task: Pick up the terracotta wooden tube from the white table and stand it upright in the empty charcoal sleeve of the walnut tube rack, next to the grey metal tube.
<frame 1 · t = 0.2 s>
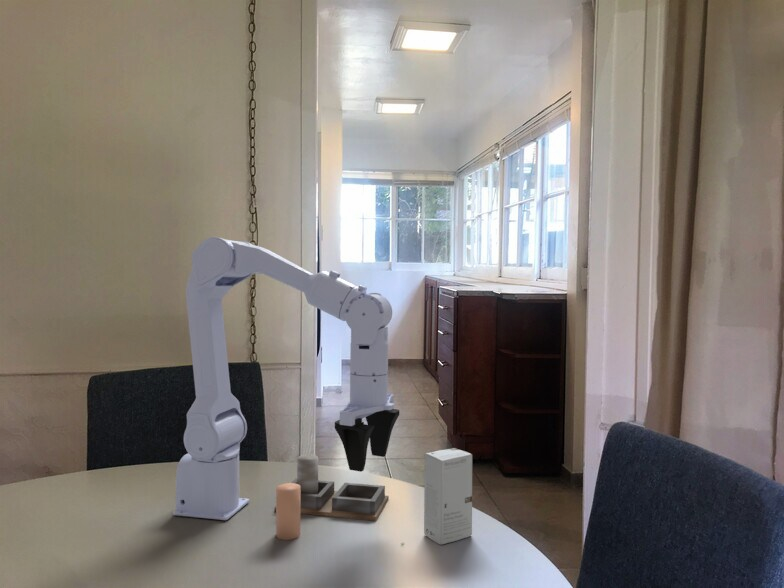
hand: (368, 462, 85), 10 cm above the table, fingers open, 7 cm apart
terracotta tube: (288, 534, 82), on the table
tube rack: (333, 504, 93), on the table
skincare box: (448, 536, 82), on the table
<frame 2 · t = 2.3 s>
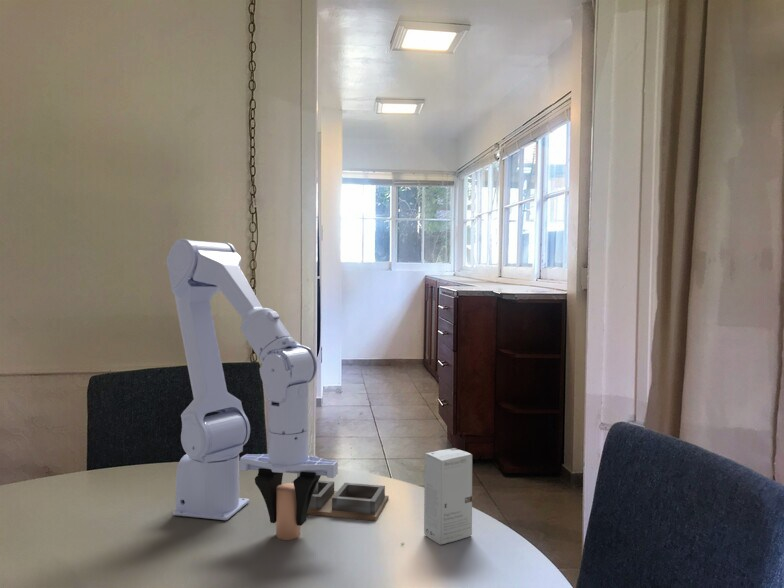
hand: (288, 521, 82), 2 cm above the table, fingers closed on terracotta tube, 3 cm apart
terracotta tube: (288, 534, 82), on the table, touching gripper
everything else where it was.
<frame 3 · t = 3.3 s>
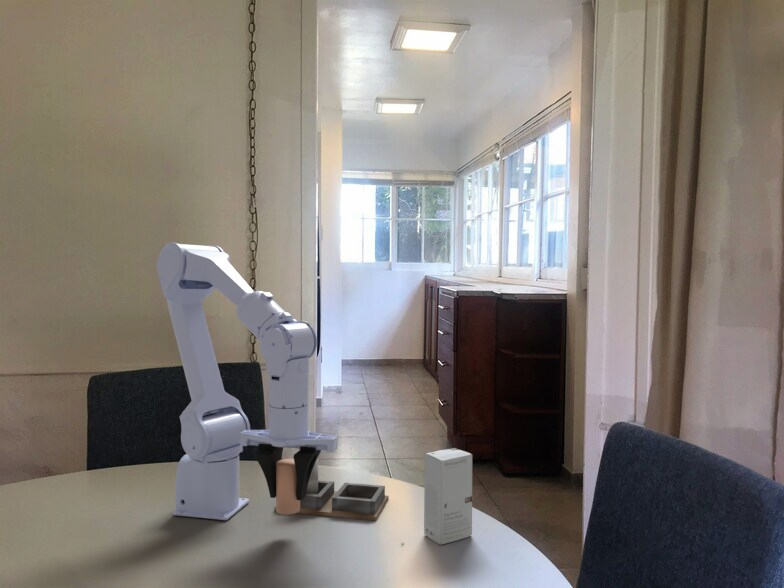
hand: (288, 496, 82), 6 cm above the table, fingers closed on terracotta tube, 3 cm apart
terracotta tube: (288, 509, 82), point 4 cm above the table, touching gripper
everything else where it was.
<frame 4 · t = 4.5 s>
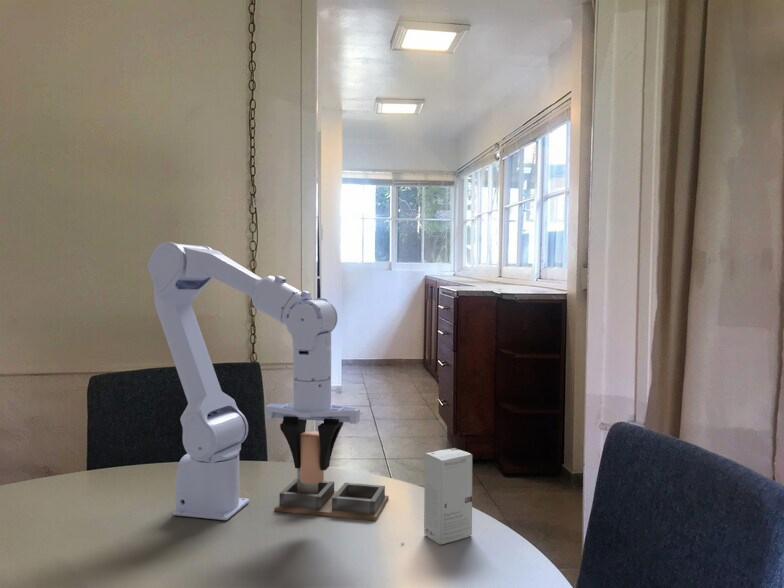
hand: (312, 467, 85), 9 cm above the table, fingers closed on terracotta tube, 3 cm apart
terracotta tube: (312, 480, 85), point 7 cm above the table, touching gripper
everything else where it was.
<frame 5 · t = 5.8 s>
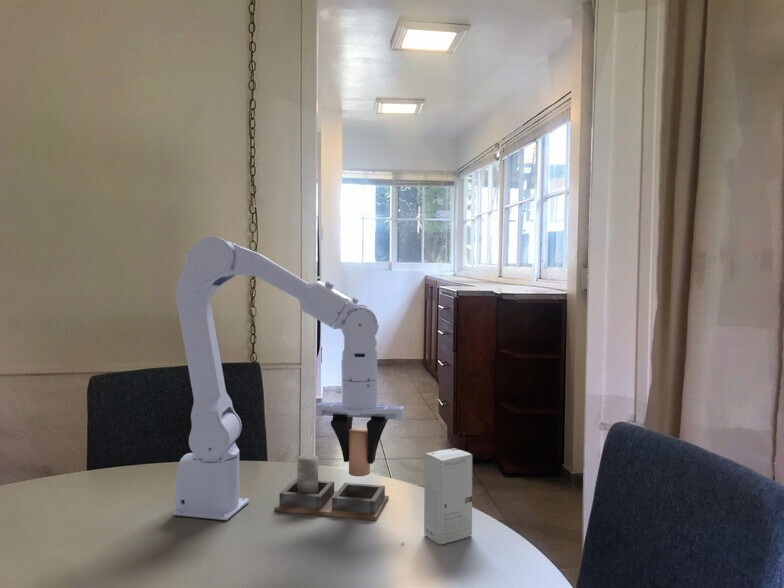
hand: (359, 461, 92), 8 cm above the table, fingers closed on terracotta tube, 3 cm apart
terracotta tube: (359, 472, 92), point 6 cm above the table, touching gripper
everything else where it was.
when the fingers open (4 cm above the table, at t = 7.0 s): terracotta tube drops 1 cm, resting on tube rack.
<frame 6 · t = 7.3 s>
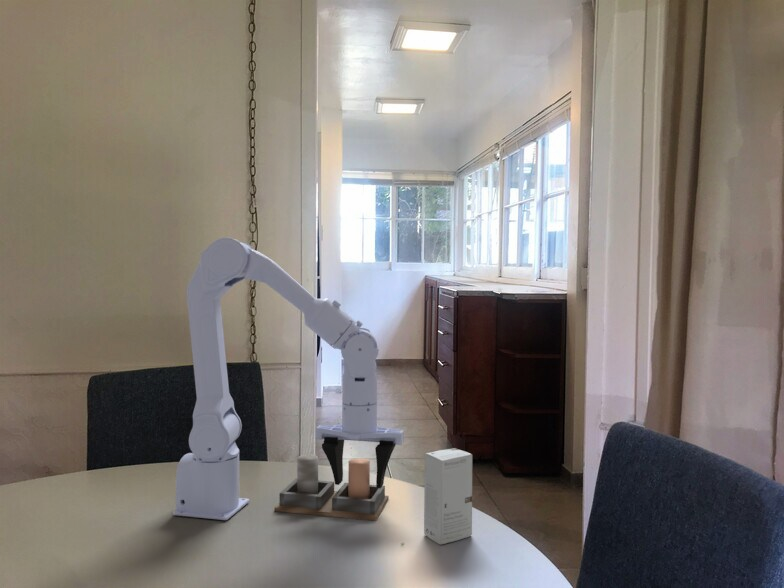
hand: (359, 484, 92), 4 cm above the table, fingers open, 6 cm apart
terracotta tube: (358, 503, 92), point 1 cm above the table, touching tube rack
everything else where it was.
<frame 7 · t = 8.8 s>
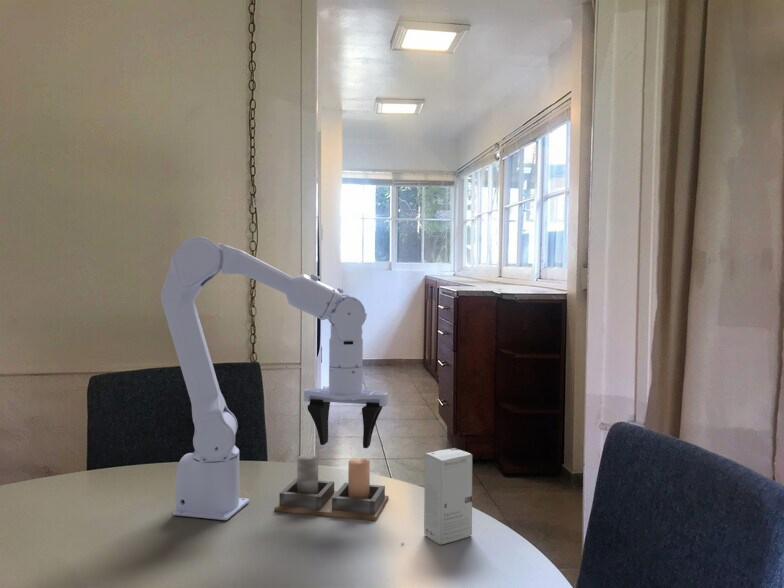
hand: (345, 445, 96), 9 cm above the table, fingers open, 7 cm apart
nothing on the table moved.
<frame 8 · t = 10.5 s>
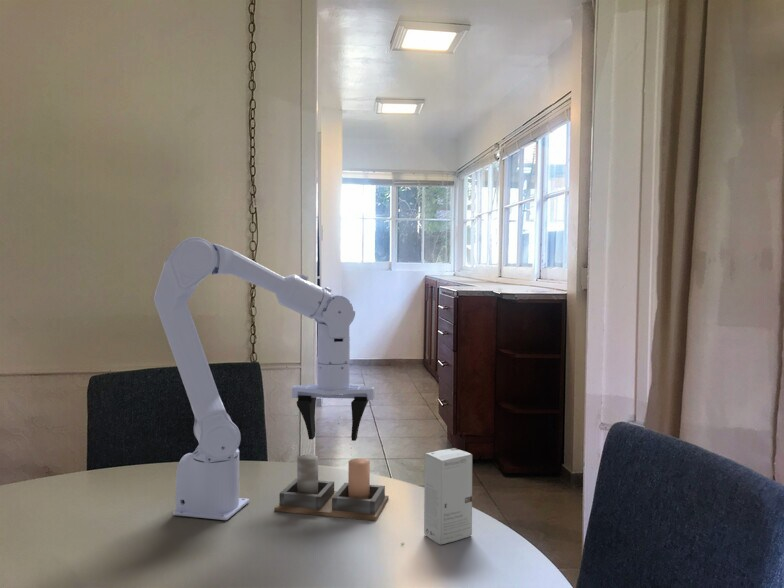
hand: (333, 438, 100), 9 cm above the table, fingers open, 7 cm apart
nothing on the table moved.
at the end: terracotta tube 0.1 cm from the target spot on the tube rack, point 0.6 cm above the tube rack's base; terracotta tube tilted 0°; the gripper is holding nothing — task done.
